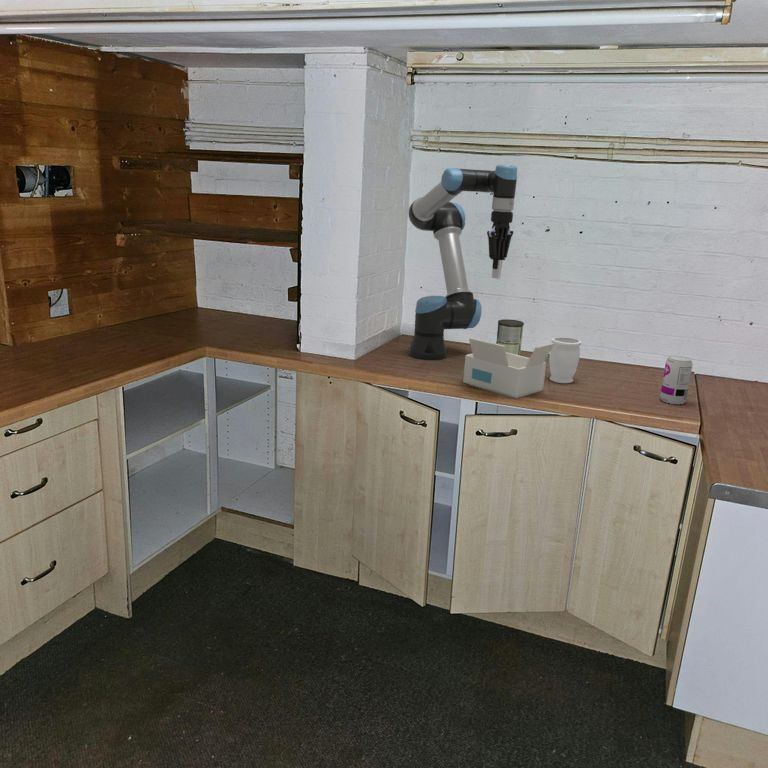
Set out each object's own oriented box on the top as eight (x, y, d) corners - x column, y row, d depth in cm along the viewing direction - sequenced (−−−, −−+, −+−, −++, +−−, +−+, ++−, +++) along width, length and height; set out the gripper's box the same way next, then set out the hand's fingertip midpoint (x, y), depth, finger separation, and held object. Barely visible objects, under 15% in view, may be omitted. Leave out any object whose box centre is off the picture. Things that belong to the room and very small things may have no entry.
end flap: (535, 346, 222) (537, 347, 221) (552, 342, 229) (553, 343, 228) (525, 366, 226) (526, 368, 226) (541, 362, 233) (543, 363, 233)
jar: (554, 375, 259) (559, 335, 255) (580, 380, 253) (586, 340, 248) (541, 380, 251) (546, 339, 247) (568, 386, 245) (573, 344, 240)
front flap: (474, 356, 236) (473, 357, 236) (470, 337, 231) (468, 338, 231) (509, 365, 226) (508, 366, 226) (504, 345, 222) (503, 346, 222)
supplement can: (659, 403, 231) (667, 359, 227) (659, 396, 238) (666, 354, 234) (685, 406, 228) (693, 362, 224) (685, 400, 236) (692, 357, 231)
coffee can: (490, 352, 288) (493, 319, 284) (512, 352, 291) (516, 319, 287) (502, 359, 278) (505, 324, 274) (524, 358, 282) (528, 324, 278)
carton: (461, 383, 242) (464, 355, 239) (490, 375, 253) (492, 348, 251) (515, 399, 227) (519, 369, 224) (543, 390, 238) (547, 362, 236)
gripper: (500, 211, 237) (493, 280, 244) (521, 211, 246) (515, 278, 253) (482, 210, 242) (476, 277, 249) (504, 210, 251) (498, 275, 258)
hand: (496, 278), depth 251 cm, fingers closed
